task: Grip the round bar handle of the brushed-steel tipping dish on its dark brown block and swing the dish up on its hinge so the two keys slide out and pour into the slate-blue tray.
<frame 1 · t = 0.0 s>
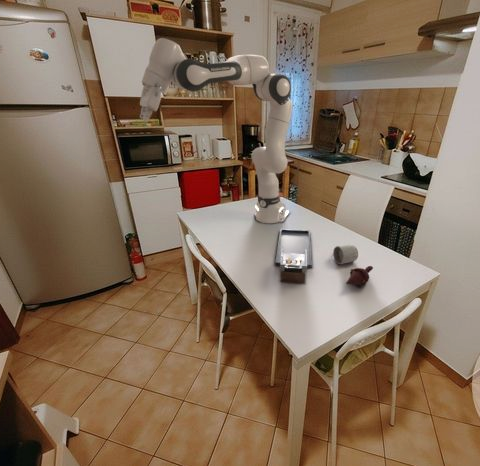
hand: (143, 120, 101), 54 cm above the table, tool tilted 30°, fingers open, 8 cm apart
ceramic mug: (342, 260, 114), on the table
key b: (298, 263, 102), point 6 cm above the table, touching tip dish
dark brown block: (293, 273, 105), on the table
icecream: (357, 284, 100), on the table
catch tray: (294, 247, 123), on the table
key a: (288, 264, 101), point 6 cm above the table, touching tip dish
tip dish: (293, 261, 101), point 7 cm above the table, hinge at 0.0°, touching key a, key b
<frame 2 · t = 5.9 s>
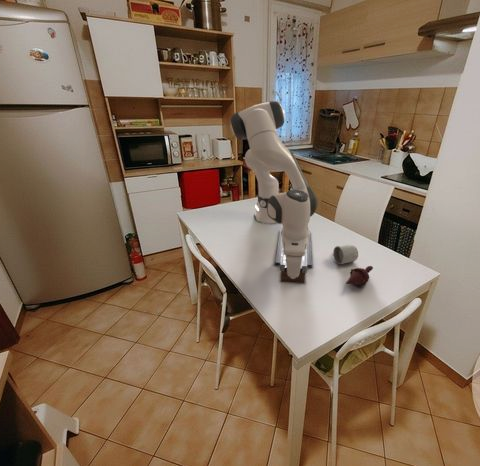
hand: (293, 271, 95), 7 cm above the table, tool pointing down, fingers open, 5 cm apart
tip dish: (293, 261, 101), point 7 cm above the table, hinge at -0.1°, touching gripper, key a, key b
everything else where it was.
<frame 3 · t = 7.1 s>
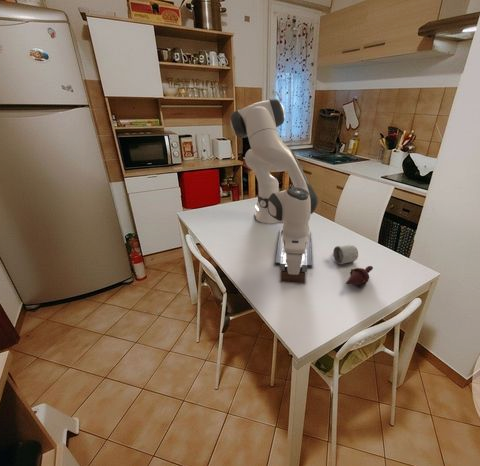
hand: (293, 268, 96), 7 cm above the table, tool pointing down, fingers closed on tip dish, 3 cm apart
tip dish: (293, 260, 101), point 7 cm above the table, hinge at 1.7°, touching gripper, key a, key b
everything else where it was.
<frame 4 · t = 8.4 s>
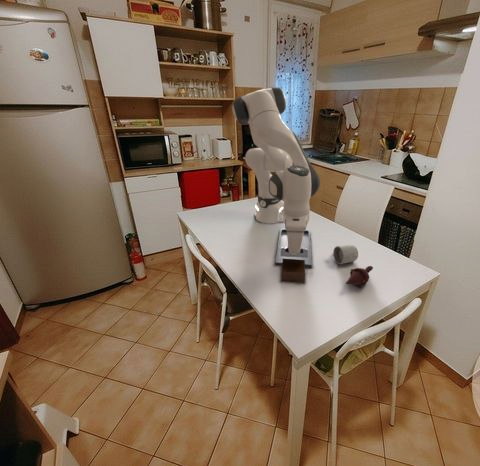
hand: (294, 251, 95), 14 cm above the table, tool pointing down, fingers closed
key b: (298, 254, 101), point 9 cm above the table, tilted 28°, touching tip dish
key a: (289, 254, 100), point 9 cm above the table, tilted 28°, touching tip dish
tip dish: (294, 251, 101), point 10 cm above the table, hinge at 28.3°, touching gripper, key a, key b
everything else where it was.
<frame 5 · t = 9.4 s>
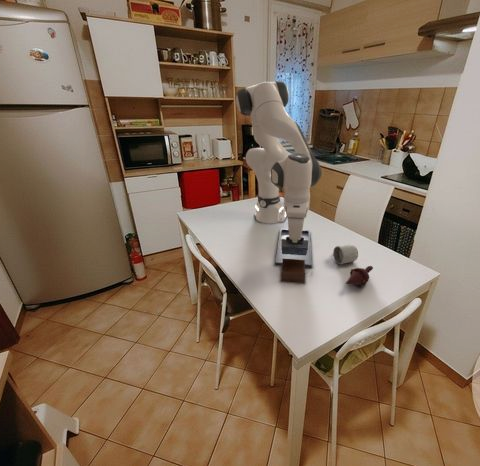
hand: (294, 239, 96), 17 cm above the table, tool pointing down, fingers closed
key b: (299, 249, 102), point 10 cm above the table, tilted 45°, touching tip dish
key a: (289, 248, 102), point 11 cm above the table, tilted 45°
tip dish: (294, 246, 102), point 12 cm above the table, hinge at 45.4°, touching gripper, key b
everything else where it was.
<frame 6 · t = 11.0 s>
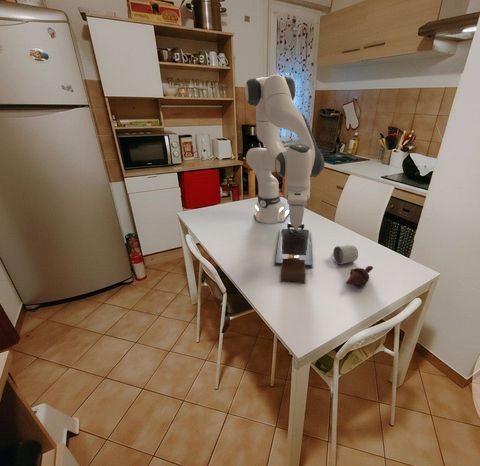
hand: (295, 227, 100), 19 cm above the table, tool pointing down, fingers closed on tip dish, 2 cm apart
key b: (293, 254, 116), point 1 cm above the table, tilted 180°, touching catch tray, key a
key a: (292, 253, 116), point 1 cm above the table, tilted 170°, touching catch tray, key b
tip dish: (294, 239, 104), point 13 cm above the table, hinge at 71.9°, touching gripper
everything else where it was.
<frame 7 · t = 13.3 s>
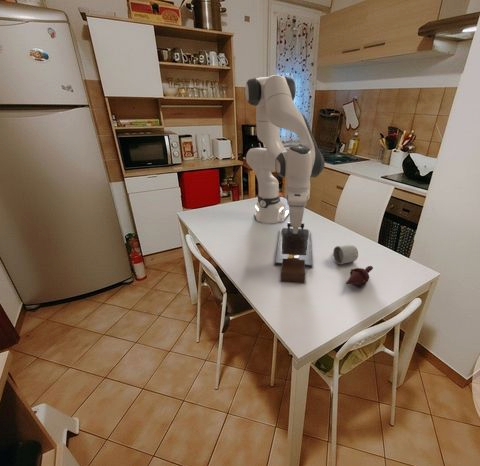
hand: (295, 227, 101), 18 cm above the table, tool pointing down, fingers open, 8 cm apart
tip dish: (294, 239, 104), point 13 cm above the table, hinge at 73.9°
everything else where it was.
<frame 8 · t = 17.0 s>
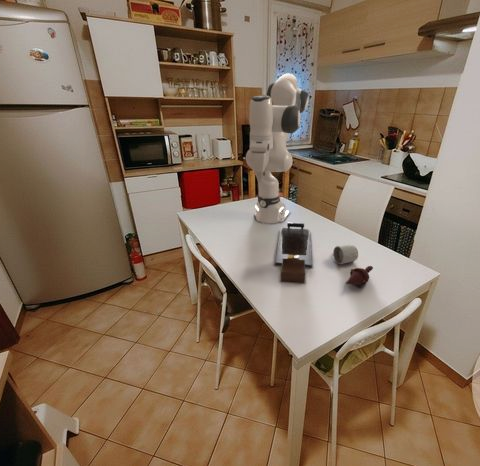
hand: (261, 178, 107), 33 cm above the table, tool pointing down, fingers open, 8 cm apart
nothing on the table moved.
at the end: key a inside the target area in the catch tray (7.5 cm from its centre), point 1.4 cm above the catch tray's base; key b inside the target area in the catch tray (7.2 cm from its centre), point 0.9 cm above the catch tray's base; tip dish reached +74° during the clip, +74° at the end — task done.
